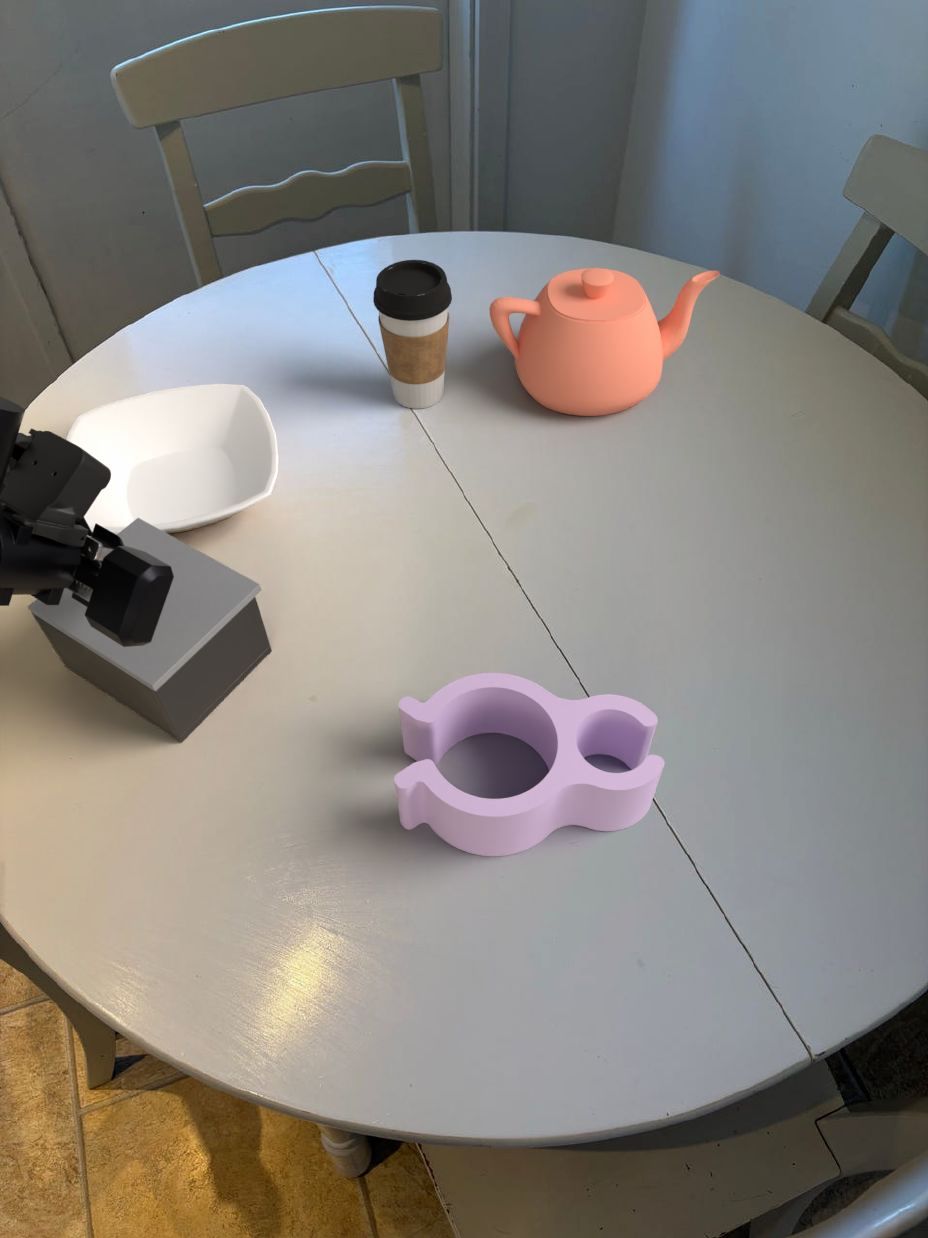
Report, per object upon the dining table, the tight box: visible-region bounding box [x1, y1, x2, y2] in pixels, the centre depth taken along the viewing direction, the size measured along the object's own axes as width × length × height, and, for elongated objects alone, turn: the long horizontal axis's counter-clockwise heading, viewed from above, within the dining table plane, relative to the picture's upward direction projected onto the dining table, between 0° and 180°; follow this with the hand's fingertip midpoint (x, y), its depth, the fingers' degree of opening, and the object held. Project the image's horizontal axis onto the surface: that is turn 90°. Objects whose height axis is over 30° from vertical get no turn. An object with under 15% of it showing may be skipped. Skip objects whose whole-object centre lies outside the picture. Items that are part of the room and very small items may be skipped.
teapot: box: [489, 267, 721, 417], centre depth 100 cm, size 25×17×13 cm
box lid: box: [27, 518, 262, 691], centre depth 74 cm, size 12×15×1 cm
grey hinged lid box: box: [31, 596, 272, 744], centre depth 78 cm, size 12×15×8 cm
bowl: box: [65, 383, 280, 535], centre depth 92 cm, size 22×22×5 cm
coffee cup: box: [372, 259, 453, 410], centre depth 98 cm, size 8×8×15 cm
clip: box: [393, 672, 665, 857], centre depth 70 cm, size 20×12×7 cm, turn 90°
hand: (144, 559), depth 72 cm, fingers closed
